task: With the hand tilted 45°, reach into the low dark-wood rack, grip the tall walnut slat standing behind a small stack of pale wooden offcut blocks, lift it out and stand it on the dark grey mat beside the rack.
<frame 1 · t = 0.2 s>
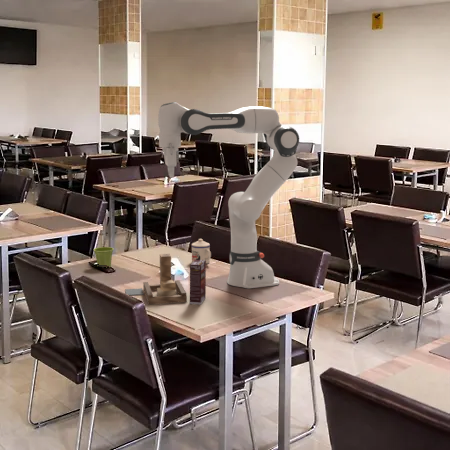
hand: (171, 176, 272), 47 cm above the table, tool pointing down, fingers open, 8 cm apart
teacup with lid: (202, 263, 321), on the table
offcut top: (168, 289, 264), point 4 cm above the table, touching offcut low
supplement box: (197, 301, 261), on the table
offcut low: (166, 298, 265), resting in rack, touching offcut top
plant pot: (104, 267, 313), on the table
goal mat: (134, 292, 272), on the table
slat: (165, 293, 272), resting in rack
rack: (164, 295, 268), on the table
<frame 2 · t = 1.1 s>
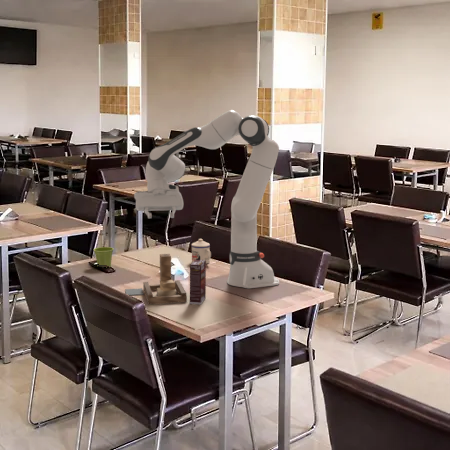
hand: (161, 217, 278), 29 cm above the table, tool tilted 45°, fingers open, 8 cm apart
offcut top: (167, 289, 264), point 4 cm above the table
offcut low: (166, 298, 265), resting in rack
everything else where it was.
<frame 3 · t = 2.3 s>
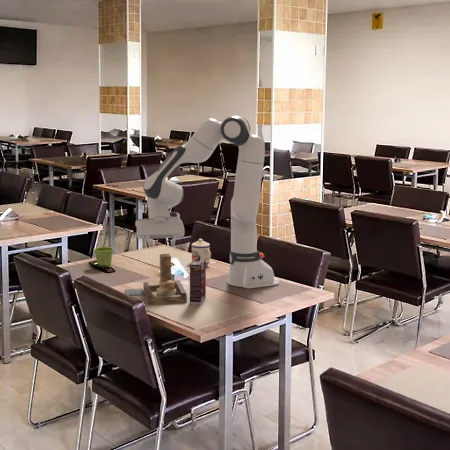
hand: (162, 245, 278), 18 cm above the table, tool tilted 45°, fingers open, 8 cm apart
offcut top: (167, 289, 264), point 4 cm above the table, touching offcut low
offcut low: (166, 298, 265), resting in rack, touching offcut top
everything else where it was.
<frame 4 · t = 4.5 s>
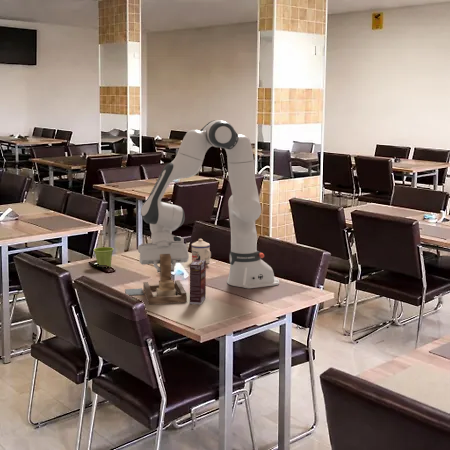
hand: (165, 271, 269), 9 cm above the table, tool tilted 45°, fingers closed on slat, 4 cm apart
slat: (165, 293, 272), resting in rack, touching gripper
everything else where it was.
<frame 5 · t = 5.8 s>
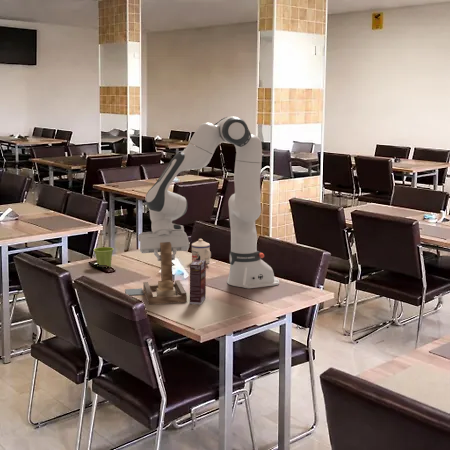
hand: (166, 259, 268), 14 cm above the table, tool tilted 45°, fingers closed on slat, 4 cm apart
offcut top: (165, 289, 264), point 4 cm above the table
offcut low: (166, 298, 265), resting in rack
slat: (166, 281, 271), point 5 cm above the table, touching gripper
everything else where it was.
when the fingers open (11 cm above the table, at t = 11.7 s): slat stays where it is, resting on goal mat.
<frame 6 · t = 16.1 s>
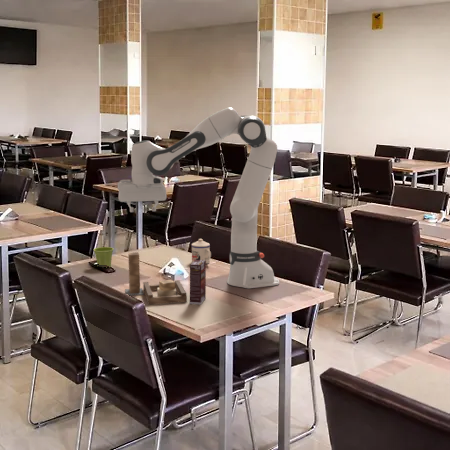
hand: (142, 211, 282), 31 cm above the table, tool pointing down, fingers open, 8 cm apart
offcut top: (167, 288, 264), point 4 cm above the table, touching offcut low
offcut low: (166, 298, 265), resting in rack, touching offcut top
slat: (134, 291, 272), resting on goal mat
everything else where it was.
at the end: slat inside the target area (0.1 cm from its centre), resting on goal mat; slat tilted 0°; the gripper is holding nothing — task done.
